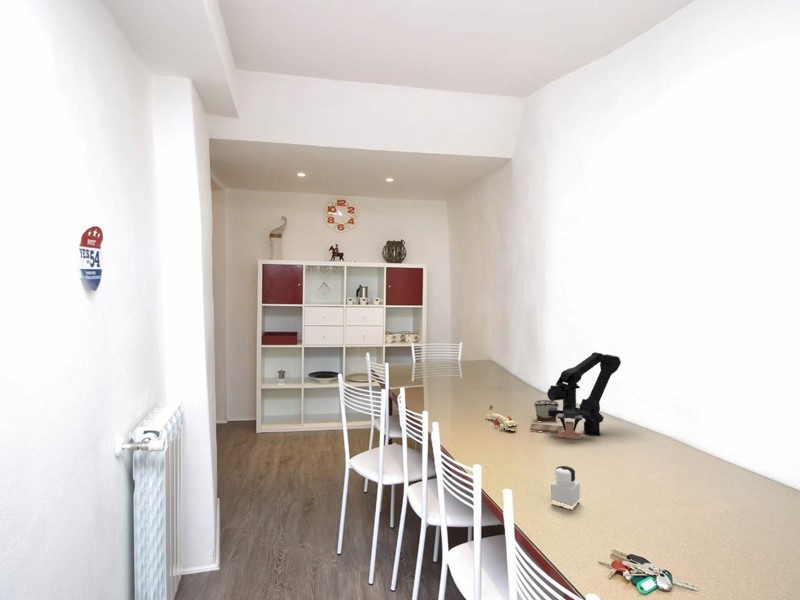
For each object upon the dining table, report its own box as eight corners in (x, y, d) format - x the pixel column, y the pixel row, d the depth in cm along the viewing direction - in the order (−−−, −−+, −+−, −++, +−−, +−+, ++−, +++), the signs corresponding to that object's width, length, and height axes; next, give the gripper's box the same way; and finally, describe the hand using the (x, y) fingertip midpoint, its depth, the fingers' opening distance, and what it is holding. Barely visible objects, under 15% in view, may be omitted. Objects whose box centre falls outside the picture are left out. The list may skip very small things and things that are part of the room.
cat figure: (481, 422, 249) (504, 433, 225) (481, 405, 249) (503, 414, 225) (499, 420, 252) (523, 431, 227) (498, 403, 252) (522, 412, 228)
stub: (581, 435, 220) (581, 422, 220) (581, 439, 216) (581, 425, 216) (558, 433, 224) (558, 420, 223) (558, 437, 219) (558, 423, 219)
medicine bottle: (558, 496, 162) (558, 462, 161) (580, 502, 157) (579, 467, 157) (550, 504, 156) (550, 469, 156) (572, 511, 152) (572, 474, 151)
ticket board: (566, 429, 230) (566, 426, 230) (566, 434, 223) (566, 431, 223) (530, 426, 236) (530, 423, 236) (529, 431, 228) (529, 428, 228)
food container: (556, 418, 247) (556, 399, 247) (559, 422, 241) (558, 402, 241) (532, 418, 249) (532, 399, 248) (534, 422, 242) (534, 402, 242)
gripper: (547, 401, 214) (547, 435, 215) (591, 404, 208) (591, 439, 209) (548, 395, 225) (548, 427, 226) (590, 398, 218) (591, 431, 219)
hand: (569, 431), depth 220 cm, fingers closed on stub, 3 cm apart
